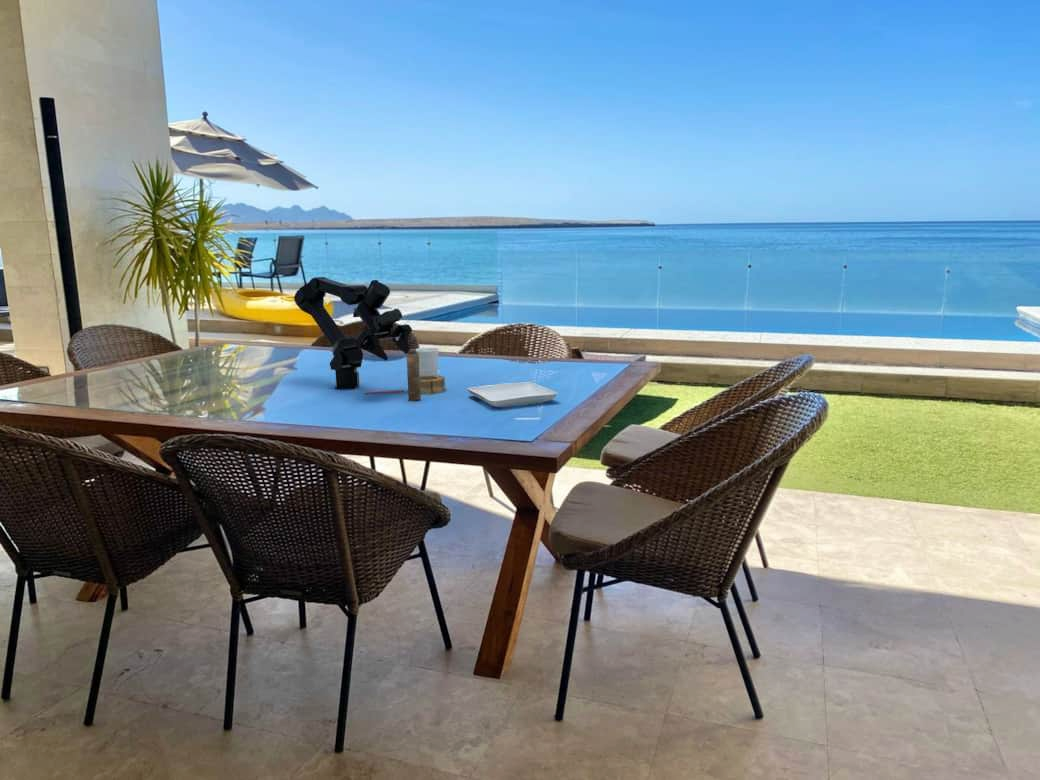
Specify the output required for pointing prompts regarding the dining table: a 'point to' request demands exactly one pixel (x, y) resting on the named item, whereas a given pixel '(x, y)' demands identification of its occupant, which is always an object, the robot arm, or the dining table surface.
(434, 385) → the tan segmented ring
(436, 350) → the white cup
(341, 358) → the robot arm
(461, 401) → the dining table surface
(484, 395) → the salad plate
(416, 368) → the tall brown cylinder
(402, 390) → the brick-red rectangular plank
